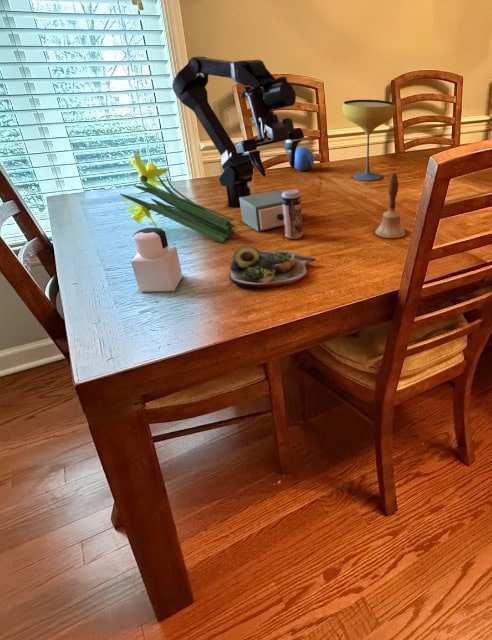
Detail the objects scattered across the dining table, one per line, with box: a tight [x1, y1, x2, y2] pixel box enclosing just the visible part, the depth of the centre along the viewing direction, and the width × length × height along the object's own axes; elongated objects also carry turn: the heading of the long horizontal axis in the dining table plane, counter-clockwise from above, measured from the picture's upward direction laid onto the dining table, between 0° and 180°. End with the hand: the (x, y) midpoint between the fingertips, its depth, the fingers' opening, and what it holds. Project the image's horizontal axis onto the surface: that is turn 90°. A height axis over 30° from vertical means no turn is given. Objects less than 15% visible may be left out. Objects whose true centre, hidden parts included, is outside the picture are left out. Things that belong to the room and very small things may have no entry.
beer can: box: [282, 188, 304, 240], centre depth 120 cm, size 5×5×12 cm
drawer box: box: [239, 189, 284, 233], centre depth 130 cm, size 10×12×7 cm
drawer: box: [258, 204, 284, 230], centre depth 129 cm, size 10×11×5 cm
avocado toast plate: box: [229, 245, 317, 289], centre depth 105 cm, size 19×18×5 cm
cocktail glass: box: [342, 99, 396, 182], centre depth 166 cm, size 18×18×25 cm
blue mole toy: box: [294, 146, 319, 171], centre depth 178 cm, size 12×12×8 cm
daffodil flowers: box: [117, 150, 236, 244], centre depth 122 cm, size 17×15×35 cm
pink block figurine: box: [130, 227, 183, 293], centre depth 96 cm, size 7×7×12 cm
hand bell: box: [374, 172, 406, 240], centre depth 122 cm, size 8×8×16 cm
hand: (279, 172), depth 132 cm, fingers open, 9 cm apart
